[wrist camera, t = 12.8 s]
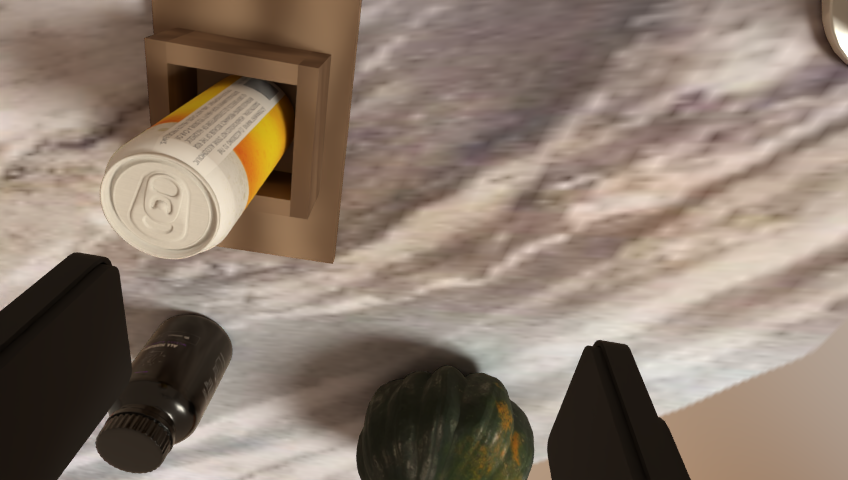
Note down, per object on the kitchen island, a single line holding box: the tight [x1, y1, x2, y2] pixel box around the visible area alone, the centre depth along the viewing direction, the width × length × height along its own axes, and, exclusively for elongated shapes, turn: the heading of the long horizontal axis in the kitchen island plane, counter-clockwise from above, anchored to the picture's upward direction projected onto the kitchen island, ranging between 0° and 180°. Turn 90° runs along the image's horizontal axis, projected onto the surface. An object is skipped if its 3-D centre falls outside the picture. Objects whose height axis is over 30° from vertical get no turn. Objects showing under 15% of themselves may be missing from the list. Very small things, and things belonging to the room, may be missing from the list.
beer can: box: [100, 75, 295, 259], centre depth 31 cm, size 6×6×15 cm
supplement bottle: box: [95, 314, 232, 473], centre depth 44 cm, size 7×7×12 cm
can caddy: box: [144, 0, 362, 264], centre depth 36 cm, size 13×22×6 cm, turn 170°
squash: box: [356, 365, 534, 480], centre depth 46 cm, size 14×15×15 cm
